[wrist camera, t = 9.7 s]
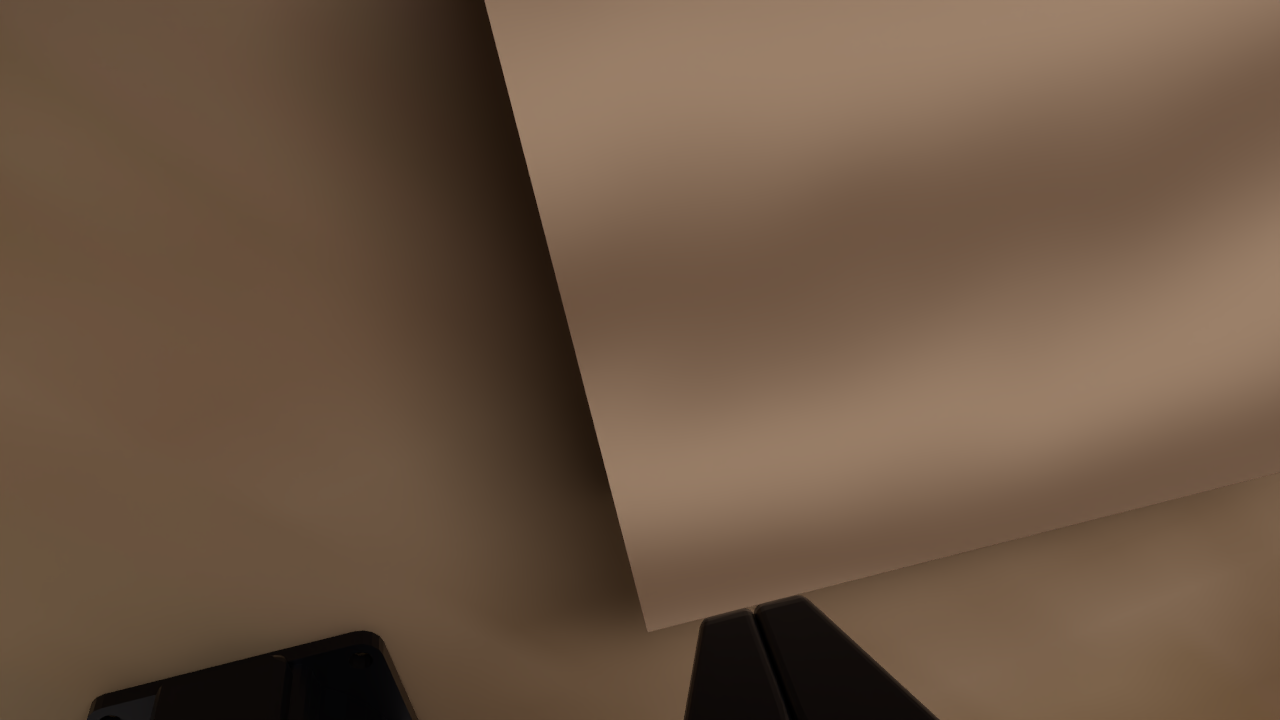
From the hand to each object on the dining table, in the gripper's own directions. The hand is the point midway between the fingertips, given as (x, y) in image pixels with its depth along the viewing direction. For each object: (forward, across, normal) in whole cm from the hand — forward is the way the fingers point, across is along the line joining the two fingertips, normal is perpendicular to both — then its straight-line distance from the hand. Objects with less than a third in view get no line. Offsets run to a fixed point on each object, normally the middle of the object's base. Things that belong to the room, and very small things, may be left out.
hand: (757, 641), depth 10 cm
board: (+13, -7, +2) cm, 15 cm away
